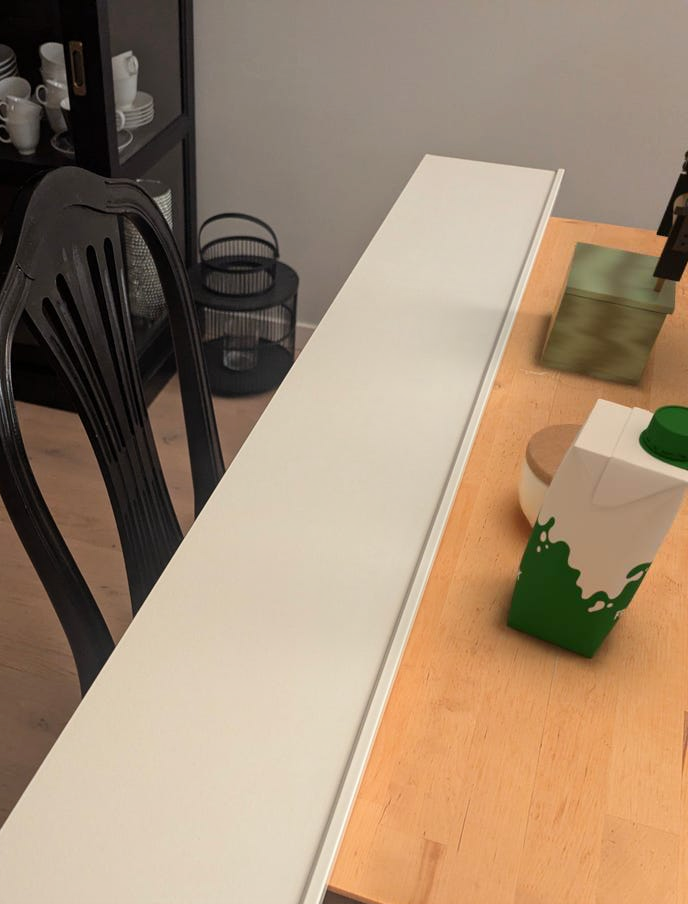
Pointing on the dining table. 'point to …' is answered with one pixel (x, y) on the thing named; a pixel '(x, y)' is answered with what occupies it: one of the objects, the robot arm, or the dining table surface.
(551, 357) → the chest
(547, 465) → the trinket box
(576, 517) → the soya milk
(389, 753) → the dining table surface
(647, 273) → the lid
